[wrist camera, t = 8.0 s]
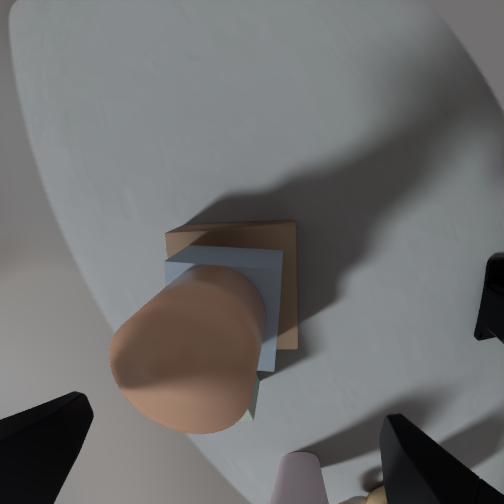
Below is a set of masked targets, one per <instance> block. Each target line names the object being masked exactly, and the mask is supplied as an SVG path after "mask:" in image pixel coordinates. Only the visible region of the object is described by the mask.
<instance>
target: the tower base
mask: <svg viewBox="0 0 504 504" xmlns="http://www.w3.org/2000/svg"><path fill="white" fill-rule="evenodd" d="M165 237H166V246H167V255H168V259H169V258H170V257H172V256H173V255H175V254H176V253H178V252H179V251H181V250H182V249H184V248H185V247H187V246H188V245H199V246H217V247H234V248H252V249H269V250H283V265H282V281H281V296H280V310H279V324H278V337H277V348H276V350H279V349H298V282H297V238H296V224H295V220H272V221H248V222H226V223H207V224H189V225H182V226H180V227H178V228H175V229H173V230H171V231H169V232H167V233H165Z"/></svg>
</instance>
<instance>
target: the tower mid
mask: <svg viewBox="0 0 504 504" xmlns="http://www.w3.org/2000/svg"><path fill="white" fill-rule="evenodd" d="M164 262H165V284H166V286H168V285H169V284H170V283H171V282H172V281H173V280H175V279H176V278H177V277H178V276H179V275H181V274H182V273H183V272H185V271H187V270H188V269H191V268H193V267H197V266H201V265H219V266H224V267H227V268H230V269H232V270H235V271H237V272H238V273H240V274H242V275H243V276H245V277H246V278H247V279H248V280H249V281H250V282H251V283H252V284H253V285H254V286H255V287H256V288H257V290H258V291H259V293H260V295H261V296H262V299H263V301H264V304H265V308H266V314H267V322H266V328H265V333H264V338H263V343H262V348H261V353H260V358H259V363H258V368H257V370H258V371H270V372H274V369H275V358H276V348H277V337H278V324H279V310H280V296H281V281H282V265H283V250H269V249H252V248H234V247H217V246H199V245H188V246H187V247H185V248H184V249H182V250H181V251H179V252H178V253H176V254H175V255H173V256H172V257H170V258H169V259H167V260H166V261H164Z"/></svg>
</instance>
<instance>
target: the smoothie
mask: <svg viewBox="0 0 504 504" xmlns="http://www.w3.org/2000/svg"><path fill="white" fill-rule="evenodd" d="M269 504H329V502H328V498H327V493H326V489H325V485H324V480H323V476H322V471H321V467H320V463H319V459H318V457H317V456H316V455H314V454H312V453H309V452H293V453H290V454H287V455H285V456H284V457H282V458H281V460H280V463H279V467H278V471H277V475H276V479H275V483H274V487H273V490H272V494H271V498H270V502H269Z"/></svg>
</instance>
